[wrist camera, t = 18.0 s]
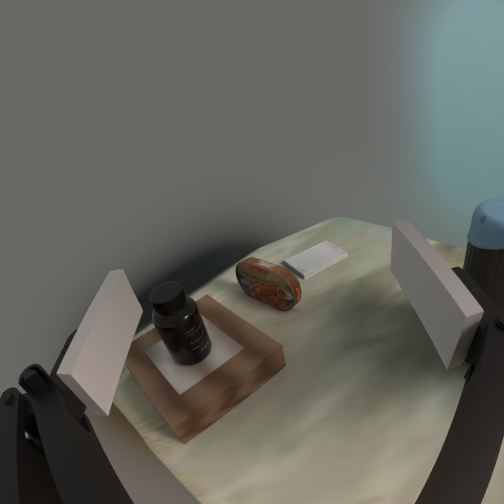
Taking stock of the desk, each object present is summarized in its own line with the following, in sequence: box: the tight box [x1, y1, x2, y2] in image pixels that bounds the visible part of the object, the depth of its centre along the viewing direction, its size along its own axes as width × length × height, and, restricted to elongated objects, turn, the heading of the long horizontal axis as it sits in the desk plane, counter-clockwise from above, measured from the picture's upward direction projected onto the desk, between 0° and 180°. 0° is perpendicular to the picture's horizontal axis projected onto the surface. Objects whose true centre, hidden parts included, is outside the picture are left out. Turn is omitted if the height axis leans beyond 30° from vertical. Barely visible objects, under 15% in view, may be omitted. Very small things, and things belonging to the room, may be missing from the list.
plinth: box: [125, 295, 286, 444], centre depth 48 cm, size 20×20×5 cm
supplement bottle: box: [150, 282, 212, 365], centre depth 44 cm, size 7×7×12 cm
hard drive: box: [283, 241, 348, 279], centre depth 71 cm, size 2×8×12 cm
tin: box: [236, 257, 301, 311], centre depth 60 cm, size 15×3×8 cm, turn 46°
